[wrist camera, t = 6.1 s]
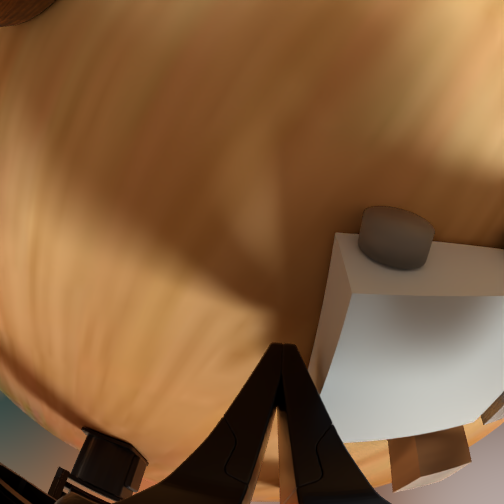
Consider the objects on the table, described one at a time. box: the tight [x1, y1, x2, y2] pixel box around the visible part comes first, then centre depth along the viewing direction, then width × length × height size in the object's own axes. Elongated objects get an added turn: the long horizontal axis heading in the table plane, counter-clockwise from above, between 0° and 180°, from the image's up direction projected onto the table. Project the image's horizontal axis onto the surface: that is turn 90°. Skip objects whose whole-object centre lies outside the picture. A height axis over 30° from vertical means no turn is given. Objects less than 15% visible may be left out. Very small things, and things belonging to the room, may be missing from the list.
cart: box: [308, 206, 504, 443], centre depth 8 cm, size 9×10×3 cm
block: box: [388, 425, 471, 493], centre depth 12 cm, size 4×4×4 cm
